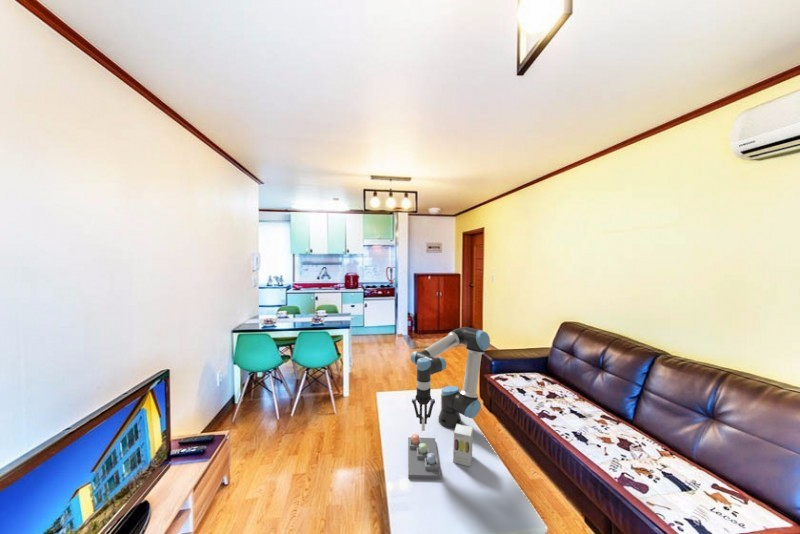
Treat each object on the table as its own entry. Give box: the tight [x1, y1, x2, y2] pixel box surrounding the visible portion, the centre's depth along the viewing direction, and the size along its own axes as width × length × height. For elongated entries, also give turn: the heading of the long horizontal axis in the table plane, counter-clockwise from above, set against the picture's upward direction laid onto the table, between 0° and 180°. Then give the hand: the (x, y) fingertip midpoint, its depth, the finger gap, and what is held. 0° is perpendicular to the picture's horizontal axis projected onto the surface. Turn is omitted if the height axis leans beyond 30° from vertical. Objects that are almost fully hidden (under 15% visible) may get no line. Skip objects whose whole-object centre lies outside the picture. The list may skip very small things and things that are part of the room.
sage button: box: [419, 443, 427, 454], centre depth 162 cm, size 4×4×4 cm
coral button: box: [411, 433, 420, 445], centre depth 171 cm, size 4×4×4 cm
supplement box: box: [452, 424, 474, 467], centre depth 162 cm, size 10×9×17 cm
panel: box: [407, 437, 441, 480], centre depth 163 cm, size 16×30×4 cm, turn 179°
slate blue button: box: [427, 453, 436, 465], centre depth 154 cm, size 4×4×4 cm
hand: (423, 429), depth 162 cm, fingers closed
